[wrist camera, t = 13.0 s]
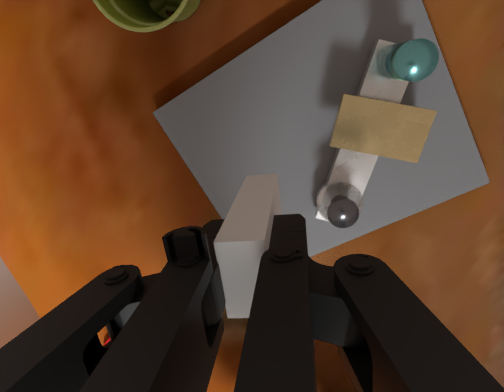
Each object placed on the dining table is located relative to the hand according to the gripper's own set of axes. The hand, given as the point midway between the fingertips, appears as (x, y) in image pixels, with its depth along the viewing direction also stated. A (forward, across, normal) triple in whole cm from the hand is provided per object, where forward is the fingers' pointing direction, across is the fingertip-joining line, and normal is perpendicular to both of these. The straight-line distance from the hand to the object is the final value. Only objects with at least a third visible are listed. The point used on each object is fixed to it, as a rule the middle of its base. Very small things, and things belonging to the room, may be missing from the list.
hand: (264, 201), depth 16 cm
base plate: (+23, -4, +2) cm, 24 cm away
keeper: (+22, -9, 0) cm, 24 cm away
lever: (+21, -8, +2) cm, 23 cm away
